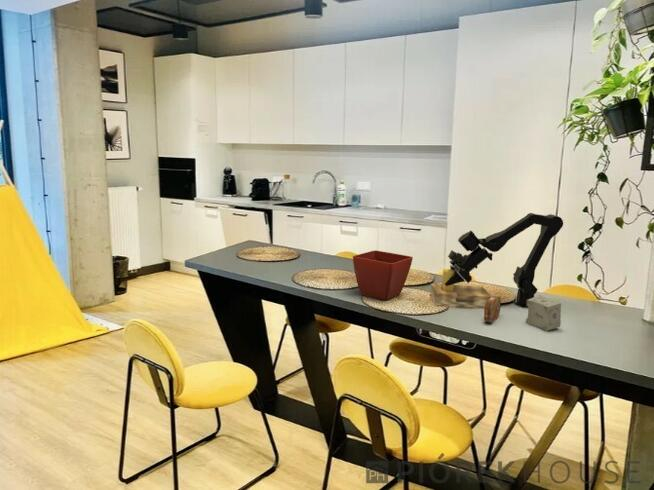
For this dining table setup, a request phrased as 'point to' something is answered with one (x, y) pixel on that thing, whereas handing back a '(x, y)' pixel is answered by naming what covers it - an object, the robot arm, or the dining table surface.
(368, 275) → the plant pot
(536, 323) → the grey concrete block
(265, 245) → the dining table surface
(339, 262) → the dining table surface
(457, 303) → the tan flat piece
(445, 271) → the yellow block
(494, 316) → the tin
